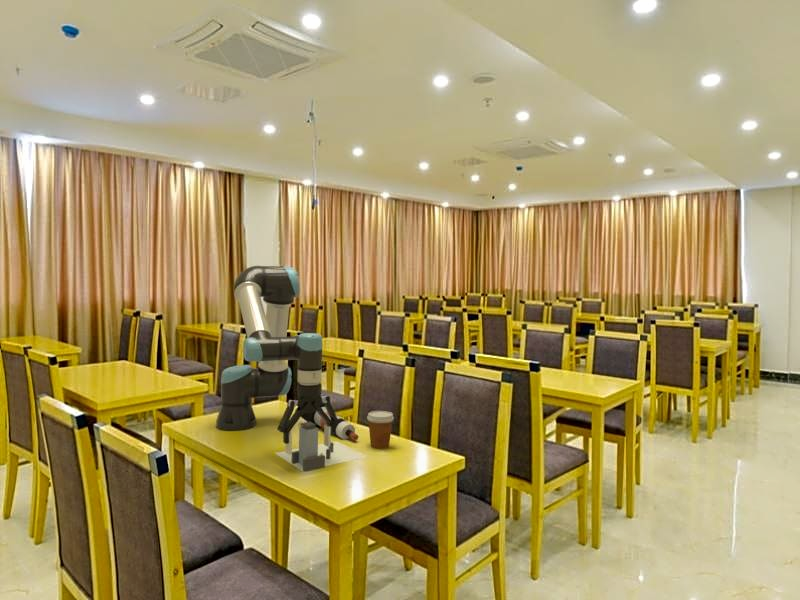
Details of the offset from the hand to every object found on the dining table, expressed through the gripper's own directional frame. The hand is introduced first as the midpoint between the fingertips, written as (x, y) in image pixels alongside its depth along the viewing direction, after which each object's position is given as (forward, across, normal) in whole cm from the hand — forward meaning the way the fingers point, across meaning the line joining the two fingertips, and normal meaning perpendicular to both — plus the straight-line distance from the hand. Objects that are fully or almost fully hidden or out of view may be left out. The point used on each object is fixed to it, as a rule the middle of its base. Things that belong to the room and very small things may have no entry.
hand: (308, 449), depth 171 cm
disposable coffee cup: (+6, +30, +3) cm, 31 cm away
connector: (+5, 0, 0) cm, 5 cm away
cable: (+6, +25, +28) cm, 38 cm away
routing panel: (+5, +8, +6) cm, 11 cm away
